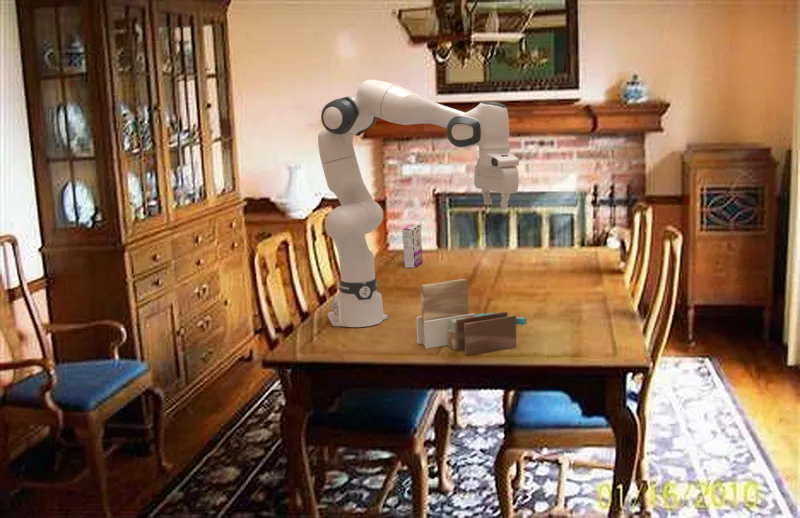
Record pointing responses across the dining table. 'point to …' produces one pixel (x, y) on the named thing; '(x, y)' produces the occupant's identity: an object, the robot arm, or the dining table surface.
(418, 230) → the candy bar box
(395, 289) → the dining table surface
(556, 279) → the dining table surface
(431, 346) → the holder
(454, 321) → the offcut
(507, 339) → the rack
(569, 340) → the dining table surface
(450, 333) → the offcut
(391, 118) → the robot arm
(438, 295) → the sheet
